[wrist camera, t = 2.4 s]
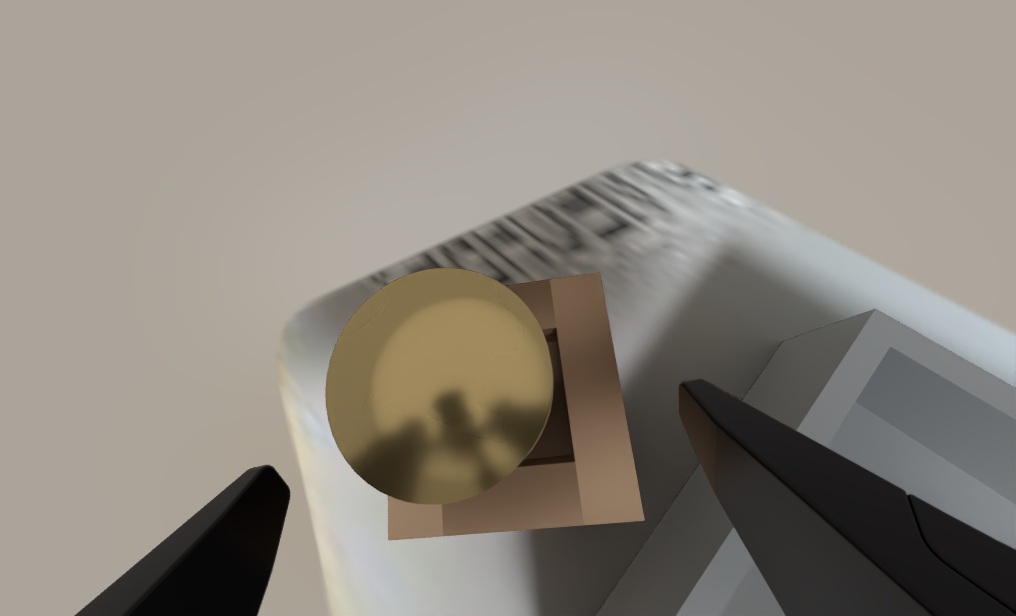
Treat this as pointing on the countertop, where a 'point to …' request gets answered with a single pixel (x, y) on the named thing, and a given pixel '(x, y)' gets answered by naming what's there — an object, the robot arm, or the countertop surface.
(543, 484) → the socket block
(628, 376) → the countertop surface
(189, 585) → the robot arm
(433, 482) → the pin
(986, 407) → the tray
